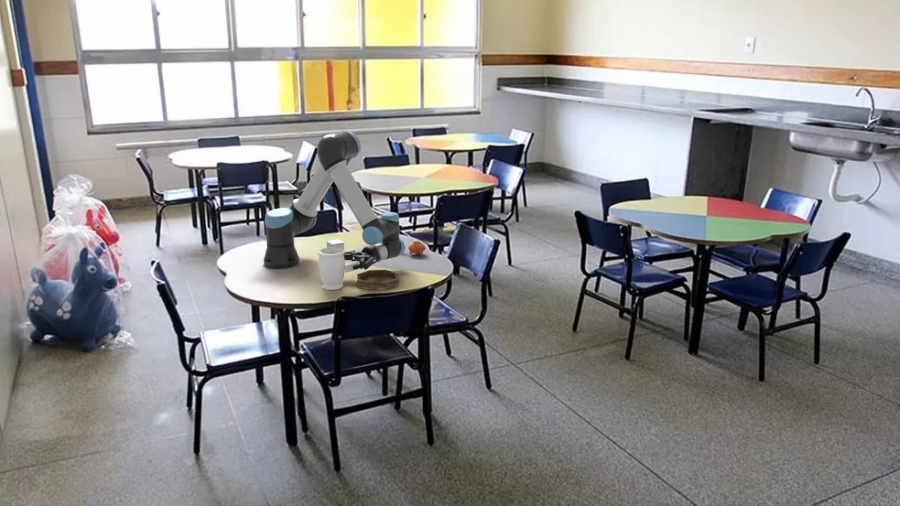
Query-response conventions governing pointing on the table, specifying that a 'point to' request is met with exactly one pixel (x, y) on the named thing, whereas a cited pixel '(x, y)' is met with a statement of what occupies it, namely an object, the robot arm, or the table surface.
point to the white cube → (335, 244)
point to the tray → (377, 279)
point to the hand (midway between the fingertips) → (334, 265)
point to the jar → (331, 267)
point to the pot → (417, 248)
